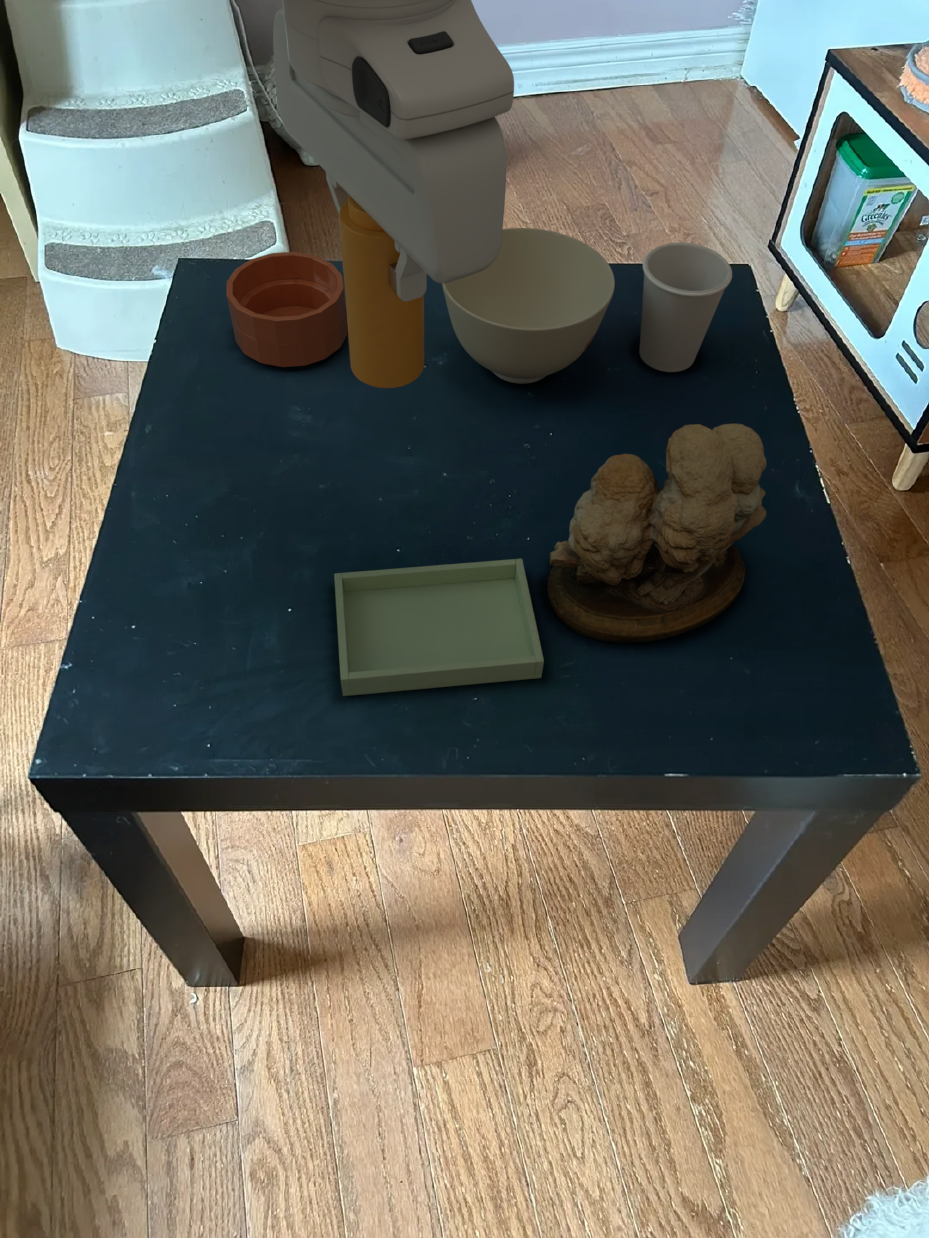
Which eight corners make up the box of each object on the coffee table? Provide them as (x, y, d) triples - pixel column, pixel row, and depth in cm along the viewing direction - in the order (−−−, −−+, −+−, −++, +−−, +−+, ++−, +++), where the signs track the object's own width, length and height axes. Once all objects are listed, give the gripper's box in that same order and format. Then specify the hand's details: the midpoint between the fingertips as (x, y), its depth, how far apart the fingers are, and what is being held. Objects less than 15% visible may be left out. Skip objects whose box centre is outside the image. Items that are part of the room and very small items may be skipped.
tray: (342, 696, 73) (340, 679, 71) (336, 591, 79) (334, 573, 77) (541, 678, 74) (544, 661, 72) (520, 576, 80) (522, 558, 78)
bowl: (547, 440, 90) (558, 352, 82) (408, 375, 95) (406, 287, 87) (627, 352, 98) (645, 264, 90) (496, 297, 103) (501, 209, 95)
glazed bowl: (263, 385, 94) (254, 333, 89) (219, 323, 99) (208, 271, 95) (366, 350, 97) (363, 298, 93) (318, 292, 103) (312, 240, 98)
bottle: (372, 397, 64) (359, 169, 51) (337, 356, 66) (317, 128, 54) (437, 373, 65) (440, 147, 53) (401, 334, 68) (395, 108, 56)
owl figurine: (705, 504, 86) (756, 346, 72) (779, 602, 79) (852, 448, 66) (520, 561, 81) (539, 403, 67) (584, 669, 75) (618, 519, 61)
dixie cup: (623, 327, 101) (640, 239, 93) (703, 330, 101) (727, 243, 93) (628, 378, 96) (646, 291, 88) (712, 383, 96) (738, 295, 88)
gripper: (231, -38, 53) (265, 201, 64) (418, 122, 43) (420, 374, 54) (334, -58, 55) (350, 177, 66) (536, 91, 45) (514, 339, 56)
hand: (382, 267), depth 60 cm, fingers closed on bottle, 5 cm apart
